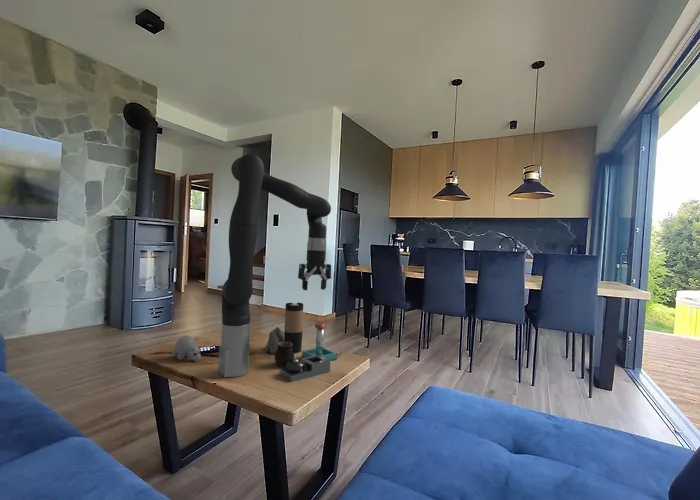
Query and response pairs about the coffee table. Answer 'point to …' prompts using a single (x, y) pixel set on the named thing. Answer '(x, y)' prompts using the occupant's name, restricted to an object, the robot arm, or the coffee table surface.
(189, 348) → the chubby cartoon animal
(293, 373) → the block
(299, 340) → the travel mug
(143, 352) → the coffee table surface
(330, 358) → the tray
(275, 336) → the mineral rock
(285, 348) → the mate gourd
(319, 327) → the lock pin
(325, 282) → the robot arm
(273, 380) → the coffee table surface
